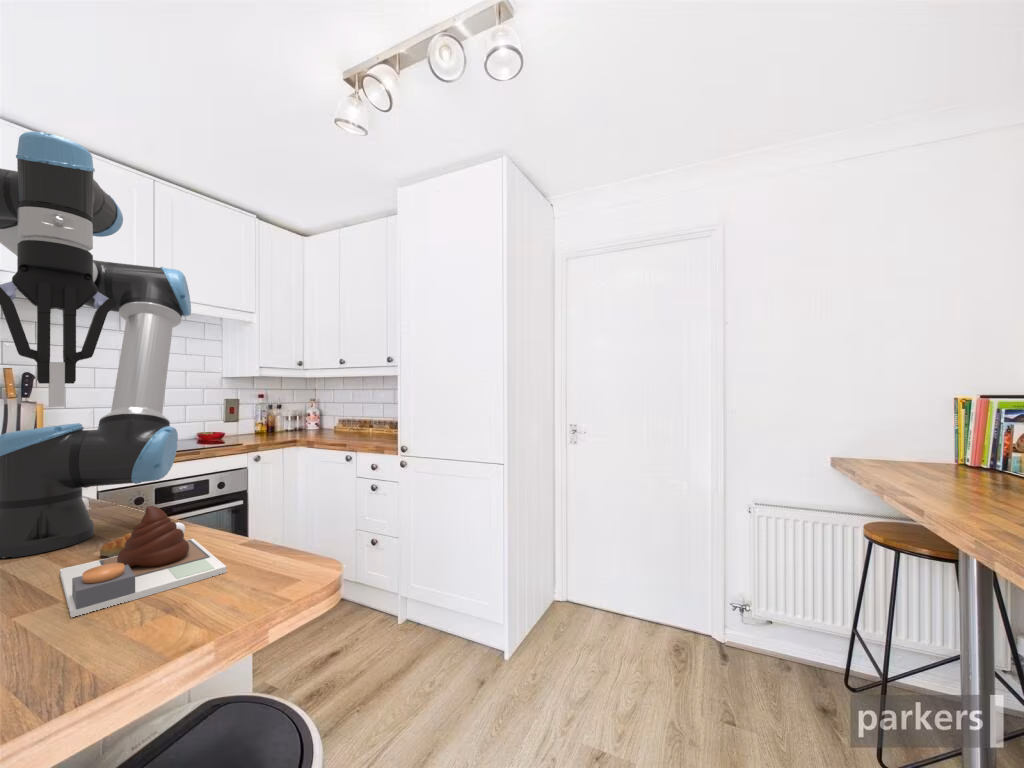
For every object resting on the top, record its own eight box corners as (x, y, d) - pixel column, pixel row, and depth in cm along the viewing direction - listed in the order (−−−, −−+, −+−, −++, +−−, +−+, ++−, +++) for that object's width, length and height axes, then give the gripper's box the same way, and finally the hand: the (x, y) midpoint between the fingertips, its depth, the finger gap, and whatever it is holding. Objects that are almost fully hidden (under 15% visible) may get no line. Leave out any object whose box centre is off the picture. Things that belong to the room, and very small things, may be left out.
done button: (80, 593, 61) (80, 570, 61) (121, 582, 64) (121, 560, 64) (84, 603, 58) (84, 579, 58) (126, 591, 61) (126, 568, 61)
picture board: (59, 575, 69) (60, 554, 69) (193, 543, 83) (193, 525, 83) (71, 618, 56) (71, 592, 56) (226, 572, 70) (226, 551, 70)
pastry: (105, 563, 74) (105, 541, 74) (95, 555, 78) (94, 534, 78) (170, 546, 82) (170, 526, 82) (158, 539, 86) (158, 521, 86)
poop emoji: (102, 571, 68) (102, 514, 68) (144, 550, 76) (144, 499, 76) (166, 569, 69) (167, 512, 69) (201, 549, 77) (201, 498, 77)
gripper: (-16, 227, 54) (-16, 409, 54) (121, 252, 64) (121, 405, 64) (-14, 240, 59) (-14, 407, 59) (113, 261, 69) (113, 404, 69)
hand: (56, 406), depth 61 cm, fingers closed
